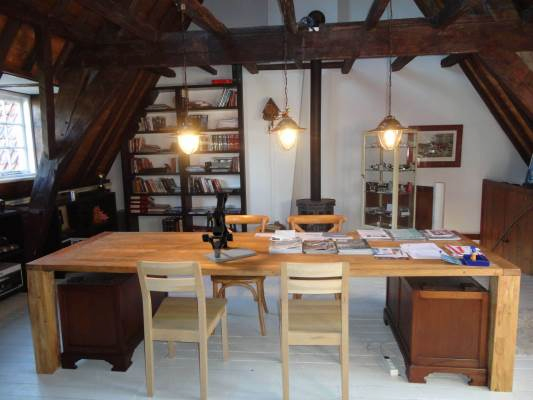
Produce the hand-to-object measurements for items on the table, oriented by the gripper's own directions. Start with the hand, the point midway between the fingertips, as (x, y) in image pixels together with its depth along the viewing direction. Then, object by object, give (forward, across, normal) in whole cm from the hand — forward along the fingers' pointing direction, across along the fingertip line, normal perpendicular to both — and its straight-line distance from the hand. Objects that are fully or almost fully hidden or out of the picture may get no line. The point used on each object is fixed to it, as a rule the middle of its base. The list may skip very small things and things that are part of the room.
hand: (216, 249), depth 234 cm
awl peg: (+3, 0, +5) cm, 5 cm away
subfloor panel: (-4, +7, +15) cm, 17 cm away
